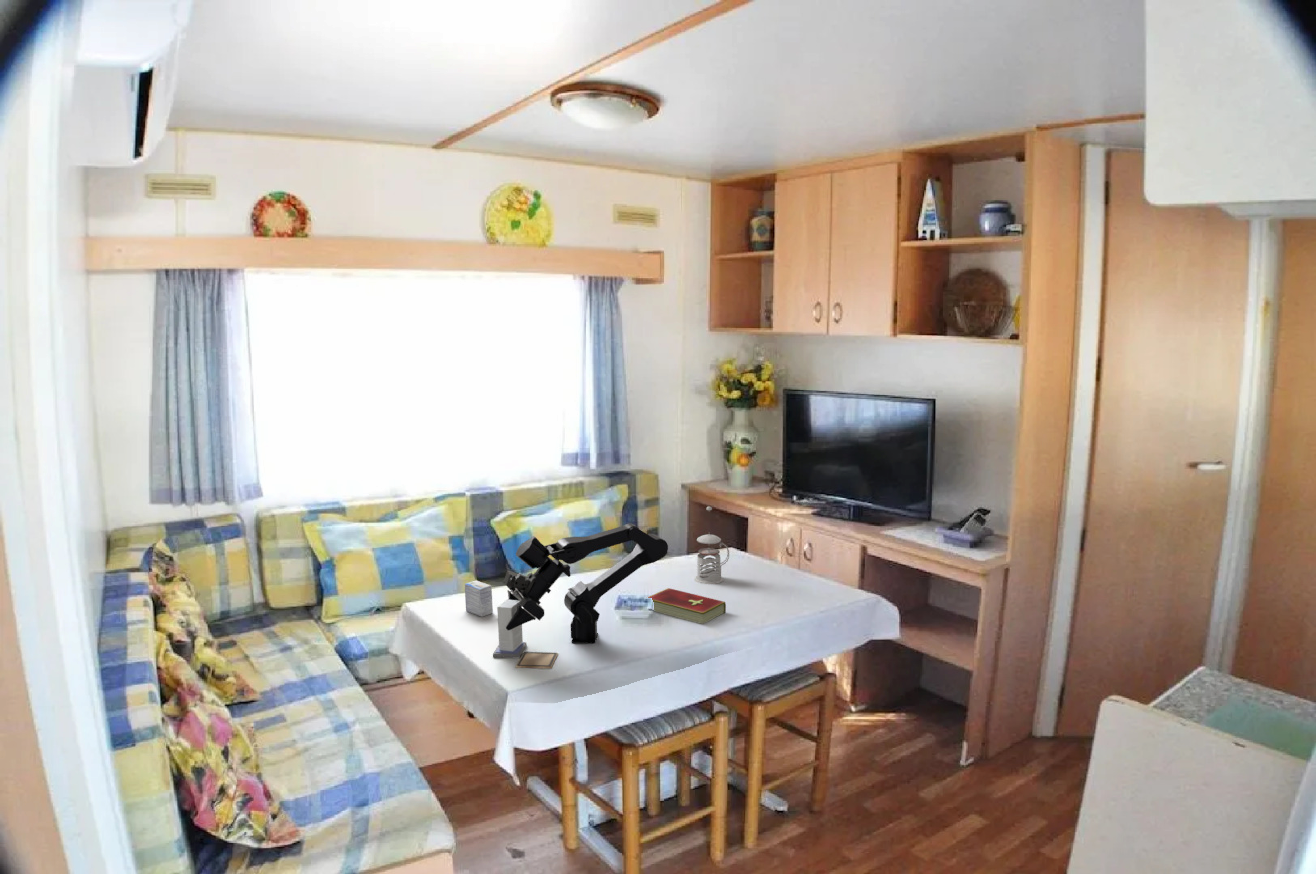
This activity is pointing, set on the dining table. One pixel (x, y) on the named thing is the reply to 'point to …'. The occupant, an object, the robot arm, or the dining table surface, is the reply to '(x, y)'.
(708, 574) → the french press
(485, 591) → the medicine box
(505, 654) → the ink pad
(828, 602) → the dining table surface
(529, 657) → the marked board
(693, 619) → the hardcover book
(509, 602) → the skincare box
